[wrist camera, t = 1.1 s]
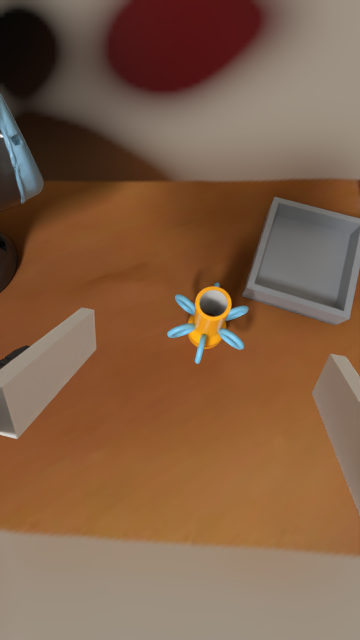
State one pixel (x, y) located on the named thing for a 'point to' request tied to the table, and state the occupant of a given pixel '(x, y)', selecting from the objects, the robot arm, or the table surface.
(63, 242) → the table surface
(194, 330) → the cylinder
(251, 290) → the tray
